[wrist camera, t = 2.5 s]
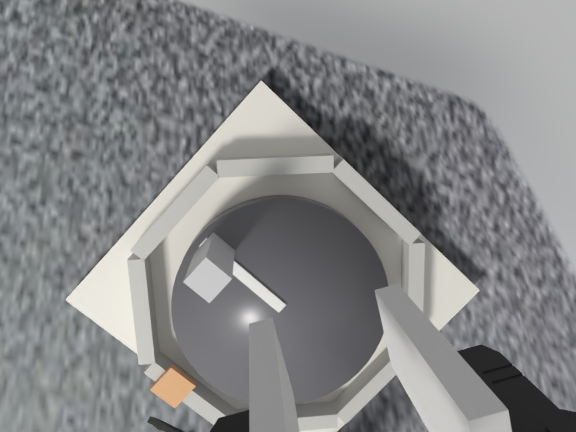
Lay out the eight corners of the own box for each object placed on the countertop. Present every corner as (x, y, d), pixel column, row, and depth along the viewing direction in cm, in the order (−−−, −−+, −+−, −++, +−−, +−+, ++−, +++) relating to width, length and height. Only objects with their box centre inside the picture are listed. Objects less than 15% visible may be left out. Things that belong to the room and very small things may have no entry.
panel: (473, 285, 40) (494, 301, 36) (291, 465, 42) (295, 497, 38) (260, 81, 35) (262, 77, 31) (68, 297, 37) (49, 316, 34)
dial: (421, 286, 38) (469, 334, 30) (285, 423, 40) (295, 504, 31) (274, 150, 35) (282, 161, 27) (132, 305, 36) (98, 361, 28)
